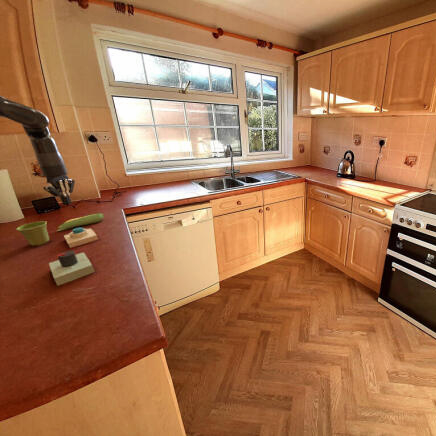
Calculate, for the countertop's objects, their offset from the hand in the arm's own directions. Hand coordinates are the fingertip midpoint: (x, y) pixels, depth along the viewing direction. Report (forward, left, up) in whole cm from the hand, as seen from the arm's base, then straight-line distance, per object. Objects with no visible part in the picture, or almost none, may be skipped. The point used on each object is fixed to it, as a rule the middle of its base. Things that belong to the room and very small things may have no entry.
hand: (67, 204), depth 104 cm
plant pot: (-17, -2, -17) cm, 24 cm away
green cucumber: (-13, +17, -17) cm, 27 cm away
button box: (0, 0, -17) cm, 17 cm away
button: (0, 0, -13) cm, 13 cm away
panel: (+17, -26, -17) cm, 35 cm away
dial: (+17, -26, -14) cm, 34 cm away
